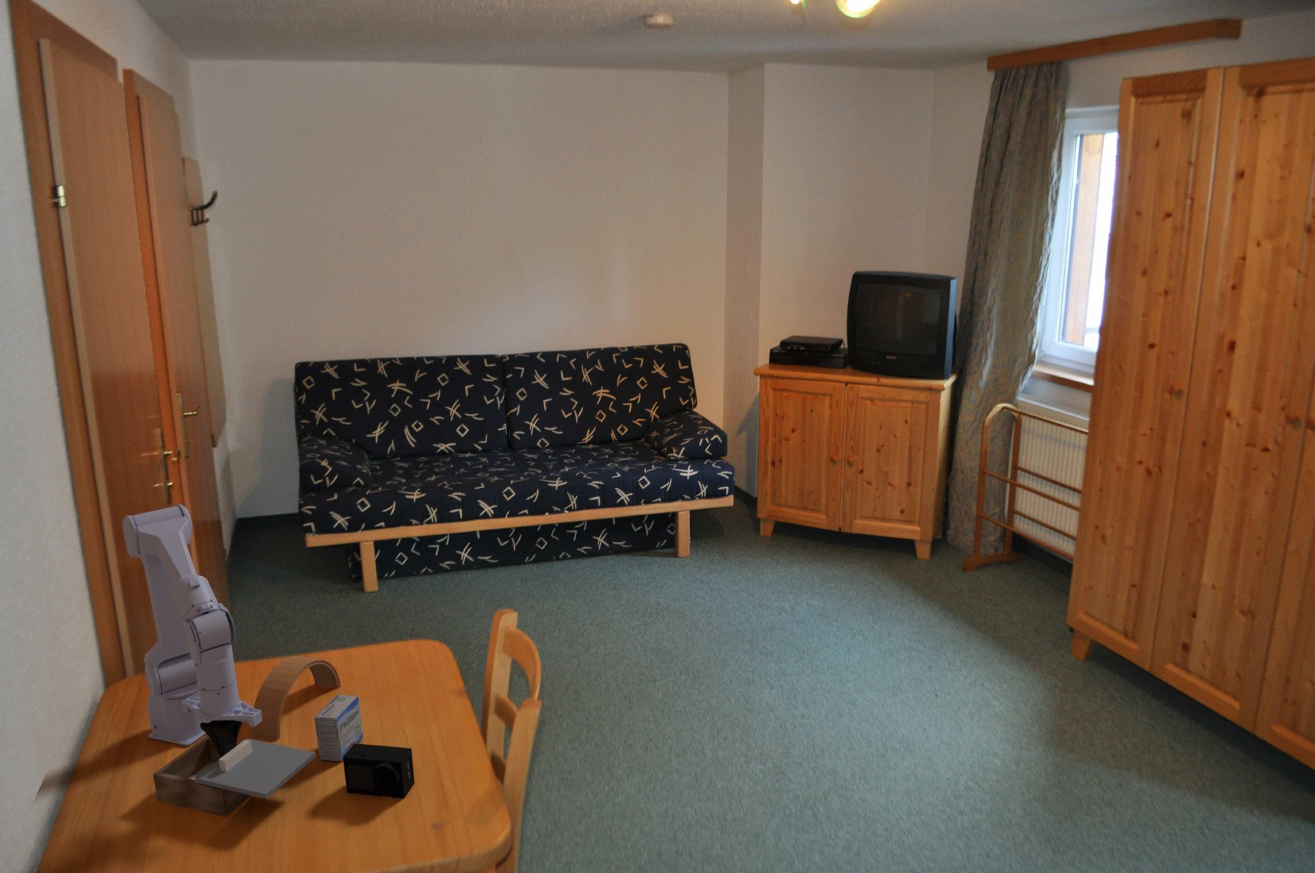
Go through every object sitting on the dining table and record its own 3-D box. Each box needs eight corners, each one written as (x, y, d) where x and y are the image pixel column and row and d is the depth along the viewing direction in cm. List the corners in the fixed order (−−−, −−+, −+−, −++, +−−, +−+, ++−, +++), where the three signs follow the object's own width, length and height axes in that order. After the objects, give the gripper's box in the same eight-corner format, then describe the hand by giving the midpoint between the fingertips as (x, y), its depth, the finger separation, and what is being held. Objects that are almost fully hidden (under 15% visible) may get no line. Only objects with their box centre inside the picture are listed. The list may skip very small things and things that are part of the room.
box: (157, 800, 161) (152, 774, 159) (211, 760, 172) (207, 735, 170) (225, 816, 156) (221, 789, 155) (276, 774, 167) (273, 748, 166)
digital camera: (342, 797, 161) (338, 760, 159) (357, 778, 166) (353, 742, 164) (401, 803, 159) (397, 766, 157) (414, 783, 164) (411, 747, 162)
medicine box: (342, 762, 170) (337, 719, 168) (318, 760, 171) (313, 716, 169) (363, 738, 178) (359, 695, 175) (341, 735, 179) (336, 693, 176)
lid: (195, 782, 156) (193, 767, 156) (248, 742, 167) (246, 727, 167) (266, 798, 152) (264, 783, 151) (316, 756, 163) (314, 741, 162)
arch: (251, 736, 179) (244, 687, 177) (317, 683, 198) (312, 638, 195) (277, 740, 178) (271, 691, 175) (342, 686, 196) (337, 641, 193)
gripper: (162, 687, 156) (174, 761, 160) (235, 701, 152) (246, 777, 155) (195, 666, 163) (206, 738, 166) (266, 679, 158) (276, 752, 162)
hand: (228, 755), depth 161 cm, fingers closed
